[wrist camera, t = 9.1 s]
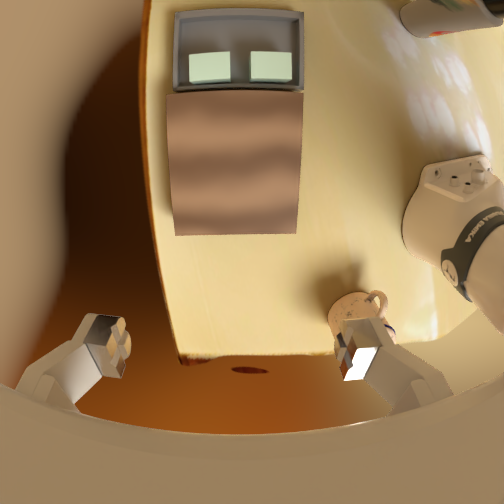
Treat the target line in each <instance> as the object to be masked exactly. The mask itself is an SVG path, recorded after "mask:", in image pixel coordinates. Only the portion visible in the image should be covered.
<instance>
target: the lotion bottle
mask: <svg viewBox="0 0 504 504" xmlns="http://www.w3.org/2000/svg"><path fill="white" fill-rule="evenodd" d="M400 17H401V21H402V23H403V25H404V26H405V28H406V29H407V30H408V31H409V32H410V33H411V34H413V35H414V36H416V37H419V38H429V37H434V36H438V35H443V34H448V33H454V32H460V31H466V30H473V29H481V28H490V27H499V26H501V25H502V24H503V18H504V0H415V1H413V2H410V3H408V4H406V5H405V6H403V7H402V8H401V10H400Z"/></svg>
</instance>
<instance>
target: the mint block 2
mask: <svg viewBox="0 0 504 504" xmlns="http://www.w3.org/2000/svg"><path fill="white" fill-rule="evenodd" d="M290 80H292V57H291V53H288V52H263V51H251V53H250V57H249V83H287V82H288V81H290Z"/></svg>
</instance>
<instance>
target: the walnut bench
mask: <svg viewBox="0 0 504 504" xmlns="http://www.w3.org/2000/svg"><path fill="white" fill-rule="evenodd" d="M166 115H167V142H168V160H169V175H170V187H171V199H172V209H173V219H174V228H175V236H184V235H227V234H296V228H297V215H298V201H299V185H300V168H301V148H302V124H303V93H299V92H284V91H261V90H226V91H202V92H188V93H177V94H168V95H166Z"/></svg>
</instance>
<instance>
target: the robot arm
mask: <svg viewBox="0 0 504 504" xmlns="http://www.w3.org/2000/svg"><path fill="white" fill-rule="evenodd" d="M435 171H436V173H435ZM402 232H403V240H404V243H405V246H406V248H407V250H408V251H409V253H410V254H411V255H413V256H414V257H416V258H418V259H421V260H423V261H425V262H427V263H429V264H431V265H432V266H434V267H435V268H437V269H438V270H440V271H441V272H442V273H443V274H444V276H445V277H446V278H447V279H448V281H449V282H450V283H451V284H452V285H453V286H454V287H455V288H456V289H457V290H458V292H459V293H460V294H461V295H462V296H463V297H464V298H465V299H466V300H468V301H470V302H473V303H474V304H475V305H476V306H477V307H478V308H479V309H480V311H481V312H482V313H483V314H484V315H485V316H486V317H487V319H488V320H489V321H490V322H491V323H492V325H493V326H494V327H495V328H496V330H497V331H498V332H499V333H500V334H501V335H503V336H504V186H503V184H502V182H501V180H500V179H499V178H498V177H497V176H495V175H494V174H493V171H492V167H491V165H490V162H489V161H488V159H487V157H486V156H484V155H475V156H469V157H464V158H459V159H454V160H449V161H444V162H439V163H434V164H429V165H426V166H425V167H424V168H423V170H422V173H421V177H420V182H419V186H418V188H417V190H416V191H415V193H414V195H413V196H412V198H411V200H410V202H409V204H408V206H407V209H406V211H405V215H404V219H403V228H402ZM125 326H126V324H125V321H124V319H123V318H122V317H116V316H108V315H97V314H91V313H89V314H87V315H86V316H85V318H84V319H83V321H82V323H81V325H80V326H79V328H78V330H77V331H76V333H75V335H74V337H73V338H72V340H71V341H67V342H65V343H64V344H62V345H60V346H59V347H57V348H56V349H54V350H53V351H51V352H50V353H48V354H47V355H45V356H44V357H42V358H40V359H39V360H38V361H36V362H34V363H33V364H31V365H30V366H28V367H27V368H26V370H25V372H24V374H23V376H22V377H21V379H20V381H19V383H18V385H17V387H16V389H15V390H13V389H11V388H8V387H7V386H4V385H2V384H0V504H504V373H502V374H500V375H498V376H496V377H494V378H492V379H490V380H488V381H486V382H483V383H481V384H479V385H477V386H475V387H472V388H470V389H468V390H465V391H463V392H461V393H459V394H456V395H454V394H453V392H452V390H451V389H450V387H449V385H448V383H447V381H446V379H445V378H444V376H443V374H442V372H440V371H439V370H437V369H435V368H434V367H433V366H431V365H429V364H428V363H426V362H425V361H423V360H422V359H420V358H419V357H417V356H416V355H414V354H412V353H411V352H409V351H408V350H406V349H405V348H403V347H402V346H400V345H399V344H396V345H395V344H394V342H393V340H392V338H391V337H390V335H389V333H388V331H387V329H386V328H385V326H384V324H383V322H382V321H381V319H380V318H379V317H378V316H375V317H366V318H355V319H343V320H342V321H341V322H340V325H339V329H340V333H339V334H338V335H336V338H335V342H334V351H335V355H336V359H338V360H339V361H340V362H341V365H340V371H341V374H342V376H343V380H344V381H346V380H355V379H363V378H364V380H365V381H366V382H367V383H368V384H369V385H370V386H371V387H372V388H373V389H374V390H375V391H377V392H378V393H379V394H380V395H381V396H382V397H383V398H384V399H385V400H386V401H387V402H388V403H389V404H391V406H393V408H392V410H391V411H390V412H389V414H388V415H387V416H386V417H383V418H379V419H375V420H371V421H366V422H361V423H356V424H351V425H345V426H339V427H333V428H326V429H319V430H311V431H303V432H291V433H278V434H256V435H255V434H254V435H223V434H200V433H186V432H176V431H167V430H159V429H151V428H145V427H139V426H133V425H127V424H122V423H118V422H113V421H108V420H104V419H100V418H95V417H92V416H88V415H84V414H81V413H80V411H79V410H78V409H77V408H76V406H75V405H74V403H75V402H76V401H77V400H78V399H79V398H81V396H83V395H84V393H86V392H87V391H88V390H89V389H90V388H91V387H92V386H93V385H94V384H95V383H96V382H97V381H98V380H99V379H100V378H101V377H102V376H108V377H115V378H121V377H122V374H123V371H124V368H125V363H124V359H126V358H127V357H128V356H129V354H130V349H131V340H130V336H129V333H128V332H126V331H125V330H124V328H125Z"/></svg>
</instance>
